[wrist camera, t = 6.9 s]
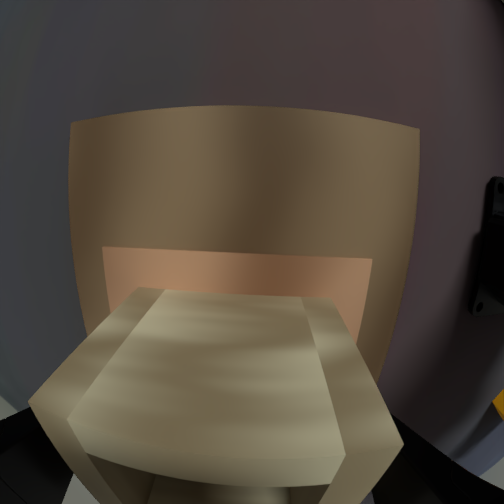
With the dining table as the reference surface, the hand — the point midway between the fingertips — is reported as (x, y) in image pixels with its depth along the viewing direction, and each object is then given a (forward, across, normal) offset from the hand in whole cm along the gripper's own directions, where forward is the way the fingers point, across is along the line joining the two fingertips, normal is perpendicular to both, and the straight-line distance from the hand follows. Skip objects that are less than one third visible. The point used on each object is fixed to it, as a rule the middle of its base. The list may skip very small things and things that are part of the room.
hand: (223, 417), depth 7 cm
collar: (+2, 0, 0) cm, 2 cm away
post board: (+4, 0, 0) cm, 4 cm away
